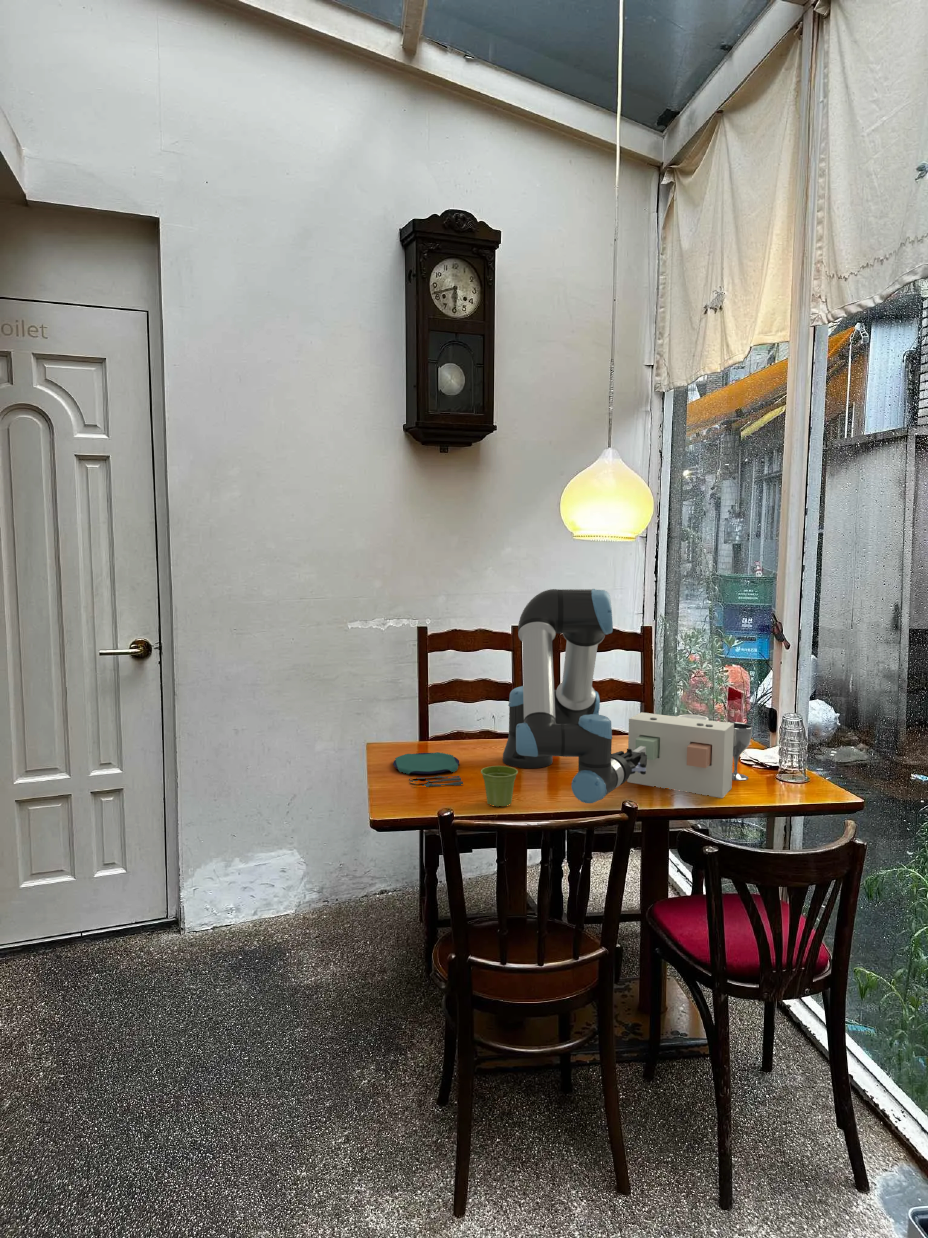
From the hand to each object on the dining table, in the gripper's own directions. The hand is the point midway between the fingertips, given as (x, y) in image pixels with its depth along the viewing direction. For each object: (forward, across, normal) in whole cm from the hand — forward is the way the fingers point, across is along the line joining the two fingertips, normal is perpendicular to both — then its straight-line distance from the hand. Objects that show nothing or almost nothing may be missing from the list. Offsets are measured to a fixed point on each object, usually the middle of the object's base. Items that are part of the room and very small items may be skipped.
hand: (643, 751), depth 209 cm
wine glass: (+27, +18, -11) cm, 34 cm away
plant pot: (-30, -27, -11) cm, 42 cm away
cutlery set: (-17, -59, -12) cm, 62 cm away
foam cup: (+39, +2, -11) cm, 41 cm away
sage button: (+4, 0, -2) cm, 5 cm away
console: (+11, +7, -11) cm, 17 cm away
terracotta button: (+5, +14, -2) cm, 15 cm away
